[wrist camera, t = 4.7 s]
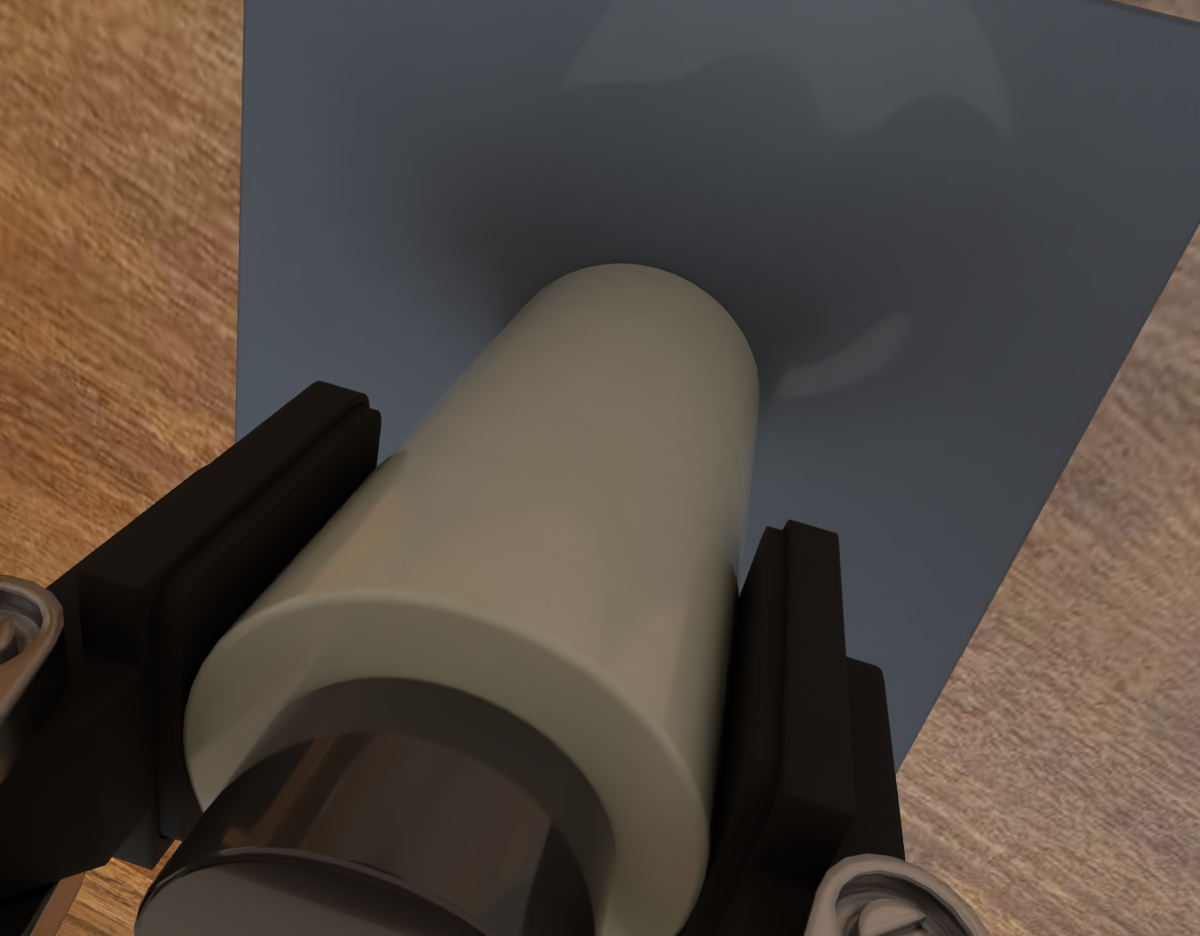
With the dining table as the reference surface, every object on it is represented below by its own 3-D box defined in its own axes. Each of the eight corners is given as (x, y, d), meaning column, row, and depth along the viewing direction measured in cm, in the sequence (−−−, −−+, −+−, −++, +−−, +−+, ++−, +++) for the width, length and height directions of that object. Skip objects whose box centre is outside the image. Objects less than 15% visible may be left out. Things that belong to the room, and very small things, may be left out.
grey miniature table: (1142, 31, 16) (1300, 46, 11) (864, 621, 23) (882, 802, 18) (413, -151, 17) (245, -216, 12) (354, 467, 24) (230, 595, 19)
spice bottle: (797, 305, 14) (783, 924, 5) (717, 538, 16) (598, 1278, 7) (523, 229, 14) (-8, 664, 5) (481, 467, 16) (57, 1082, 7)
